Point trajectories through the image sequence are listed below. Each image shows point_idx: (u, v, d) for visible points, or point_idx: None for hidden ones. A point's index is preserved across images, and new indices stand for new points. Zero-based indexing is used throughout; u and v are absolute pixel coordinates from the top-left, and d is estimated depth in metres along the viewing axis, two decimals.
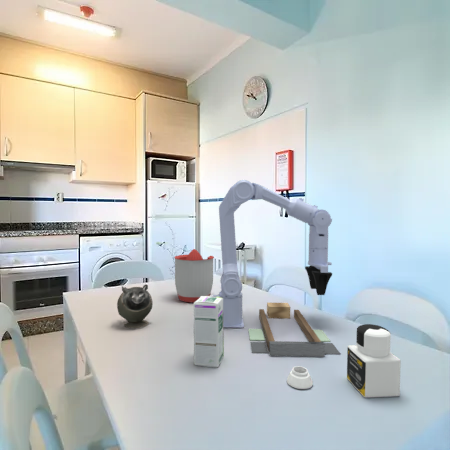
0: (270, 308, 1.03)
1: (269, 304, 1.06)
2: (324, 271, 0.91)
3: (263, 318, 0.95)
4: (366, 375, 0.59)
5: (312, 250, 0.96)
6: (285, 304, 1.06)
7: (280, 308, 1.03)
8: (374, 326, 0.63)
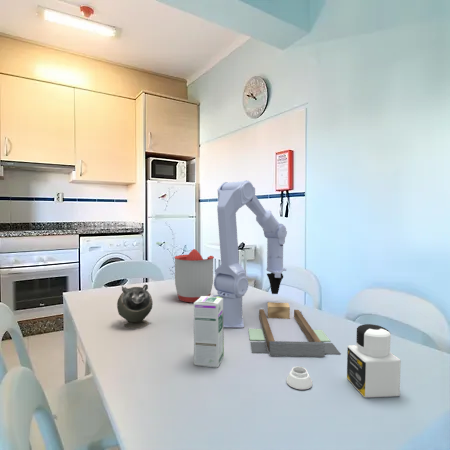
0: (269, 308, 1.03)
1: (269, 304, 1.06)
2: (277, 276, 1.08)
3: (263, 318, 0.95)
4: (366, 375, 0.59)
5: (269, 258, 1.13)
6: (285, 304, 1.06)
7: (279, 308, 1.03)
8: (374, 326, 0.63)
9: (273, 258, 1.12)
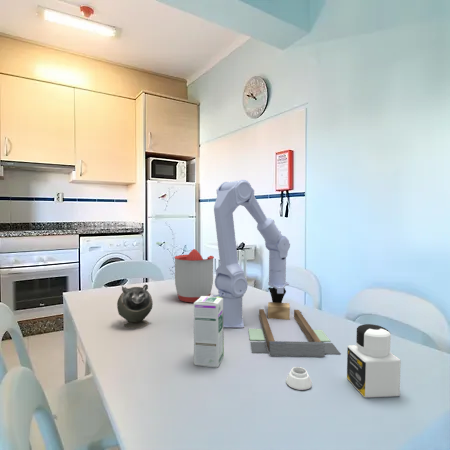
0: (269, 308, 1.03)
1: (269, 304, 1.06)
2: (280, 292, 1.02)
3: (263, 318, 0.95)
4: (366, 375, 0.59)
5: (271, 272, 1.07)
6: (286, 304, 1.05)
7: (279, 308, 1.02)
8: (374, 326, 0.63)
9: (275, 272, 1.06)
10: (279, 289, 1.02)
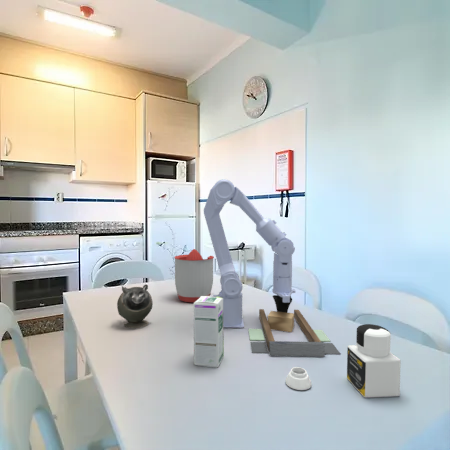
0: (269, 317, 0.93)
1: (271, 313, 0.96)
2: (286, 301, 0.91)
3: (263, 318, 0.95)
4: (366, 375, 0.59)
5: (276, 278, 0.97)
6: (290, 314, 0.95)
7: (280, 318, 0.92)
8: (374, 326, 0.63)
9: (280, 278, 0.96)
10: (285, 298, 0.91)
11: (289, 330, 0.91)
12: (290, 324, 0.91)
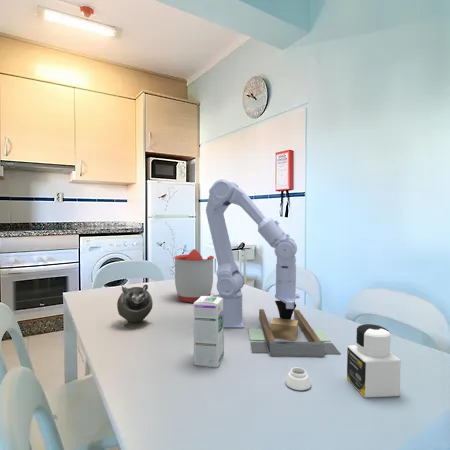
0: (272, 325, 0.87)
1: (273, 320, 0.90)
2: (289, 307, 0.85)
3: (263, 318, 0.95)
4: (366, 375, 0.59)
5: (279, 283, 0.91)
6: (294, 321, 0.88)
7: (284, 326, 0.86)
8: (374, 326, 0.63)
9: (284, 283, 0.90)
10: (288, 304, 0.85)
11: (293, 339, 0.85)
12: (294, 332, 0.85)
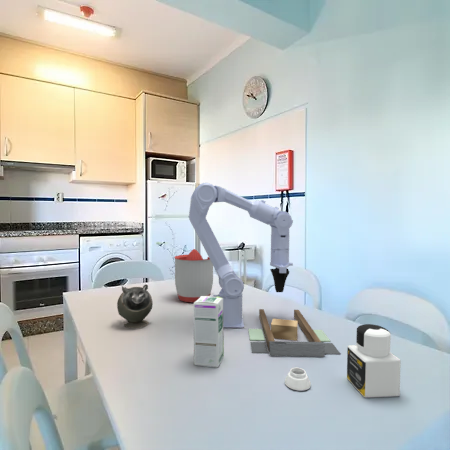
0: (272, 326, 0.87)
1: (273, 321, 0.89)
2: (282, 272, 0.93)
3: (263, 318, 0.95)
4: (366, 375, 0.59)
5: (273, 251, 0.98)
6: (293, 322, 0.89)
7: (284, 327, 0.86)
8: (374, 326, 0.63)
9: (278, 251, 0.97)
10: (281, 268, 0.93)
11: (294, 339, 0.85)
12: (295, 333, 0.85)
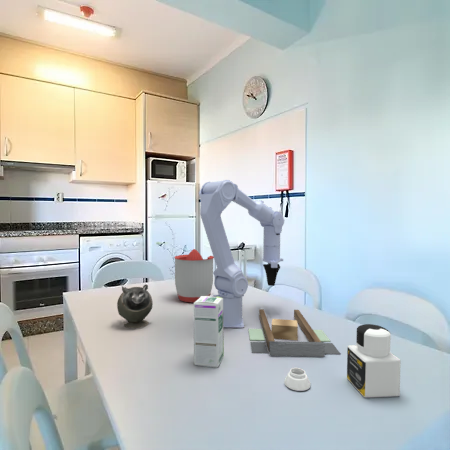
0: (273, 326, 0.87)
1: (273, 321, 0.89)
2: (274, 266, 1.02)
3: (263, 318, 0.95)
4: (366, 375, 0.59)
5: (265, 248, 1.07)
6: (293, 322, 0.89)
7: (285, 327, 0.86)
8: (374, 326, 0.63)
9: (269, 247, 1.06)
10: (273, 263, 1.02)
11: (295, 339, 0.86)
12: (296, 333, 0.85)
